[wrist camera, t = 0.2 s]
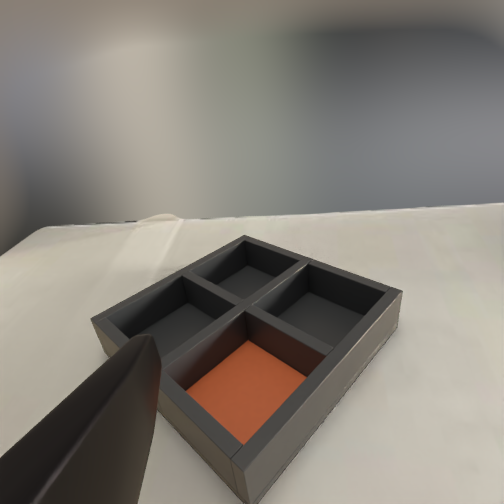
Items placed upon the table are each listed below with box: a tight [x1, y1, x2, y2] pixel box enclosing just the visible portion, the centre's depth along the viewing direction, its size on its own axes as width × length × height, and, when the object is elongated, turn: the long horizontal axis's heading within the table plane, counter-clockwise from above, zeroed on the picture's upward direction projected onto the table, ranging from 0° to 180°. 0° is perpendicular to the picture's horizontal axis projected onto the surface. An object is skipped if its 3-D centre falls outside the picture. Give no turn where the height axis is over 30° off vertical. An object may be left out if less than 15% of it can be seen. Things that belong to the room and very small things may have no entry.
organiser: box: [91, 235, 403, 504], centre depth 30 cm, size 19×19×4 cm
